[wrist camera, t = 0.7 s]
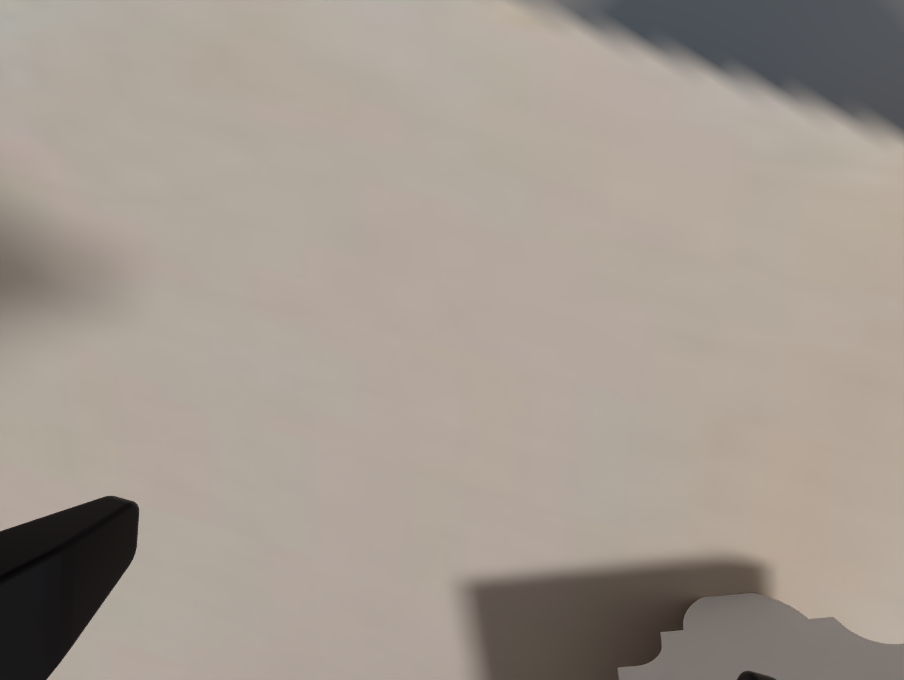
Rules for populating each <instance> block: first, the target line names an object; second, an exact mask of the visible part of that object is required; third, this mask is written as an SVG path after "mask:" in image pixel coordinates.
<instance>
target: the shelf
mask: <svg viewBox="0 0 904 680" xmlns="http://www.w3.org/2000/svg"><path fill="white" fill-rule="evenodd" d="M683 629H684V630H678V631H667V632H660V635H661V646H662V649H661V652H660V654H659V655H658V656H657V657H656V658H655V659H654V660H653V661H651V662H649V663H647V664H644V665H639V666H630V667H618V677H619V680H737V678H738V676H739V675H740V674H741V673H742V672H744V671H753V672H756V673H760V674H764V675H767V676H771V677H773V678H775V679H776V680H904V644H884V643H879V642H875V641H871V640H868V639H866V638H863V637H861V636H859V635H857V634H855V633H853V632H851V631H850V630H848V629H847V628H846V627H844V626H843V625H842V624H841V623H840V622H838V621H837V620H836V619H835V618H834V617H826V618H815V619H808V618H807V617H806V616H804V615H803V614H802V613H800V612H799V611H797V610H796V609H794V608H793V607H791V606H789V605H787V604H785V603H783V602H781V601H779V600H776V599H773V598H770V597H767V596H764V595H760V594H756V593H746V594H735V595H724V596H713V597H702V598H700V599H698V600H697V601H696V602H694V603H693V604H692V605H691V606H690V607H689V608H688V610H687V612H686V614H685V616H684V620H683Z"/></svg>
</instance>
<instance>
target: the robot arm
mask: <svg viewBox="0 0 904 680" xmlns="http://www.w3.org/2000/svg"><path fill="white" fill-rule="evenodd" d="M138 521H139V507H138V505H137V504H136V503H135V502H133V501H130V500H127V499H123V498H119V497H116V496H106V497H103V498H99V499H96V500H93V501H90V502H87V503H84V504H81V505H78V506H75V507H72V508H69V509H66V510H63V511H60V512H57V513H54V514H51V515H48V516H45V517H42V518H39V519H36V520H33V521H30V522H27V523H24V524H21V525H18V526H15V527H12V528H9V529H6V530H3V531H0V680H46V679H47V678H48V677H49V676H50V674H51V673H52V672H53V671H54V669H55V668H56V667H57V666H58V665H59V663H60V662H61V661H62V659H63V658H64V657H65V655H66V654H67V653H68V651H69V650H70V649H71V647H72V646H73V644H74V643H75V642H76V640H77V639H78V637H79V636H80V634H81V633H82V632H83V630H84V629H85V627H86V626H87V625H88V623H89V622H90V620H91V619H92V618H93V616H94V615H95V613H96V612H97V610H98V609H99V608H100V606H101V605H102V603H103V602H104V601H105V599H106V598H107V596H108V595H109V593H110V592H111V591H112V589H113V588H114V586H115V585H116V584H117V582H118V581H119V579H120V578H121V576H122V575H123V574H124V572H125V571H126V569H127V568H128V567H129V565H130V563H131V562H132V560H133V558H134V555H135V552H136V548H137V535H138ZM737 680H776V679H775V678H773V677H771V676H767V675H764V674H760V673H756V672H753V671H744V672H742V673H741V674H740V675H739V676H738V678H737Z"/></svg>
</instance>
